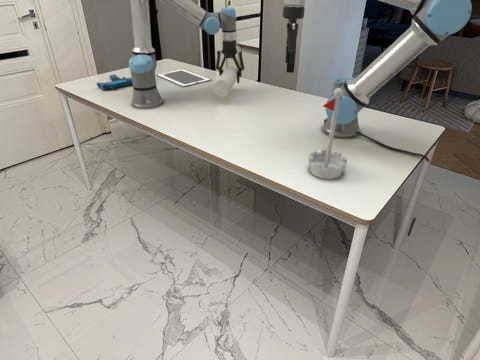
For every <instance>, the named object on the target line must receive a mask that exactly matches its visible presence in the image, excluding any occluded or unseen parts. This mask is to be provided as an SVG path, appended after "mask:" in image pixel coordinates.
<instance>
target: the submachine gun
mask: <svg viewBox="0 0 480 360" xmlns="http://www.w3.org/2000/svg"><path fill="white" fill-rule="evenodd" d="M126 78H127V77H126ZM109 79H111V81H107V82H96V83H95V84H96V87H98V88H99V89H101V90H102V91H103V90H109V89H113V90H116V88H118V87H119V88H120V87H122V86H127V85H133V83H132V77H128V78H127V79H123V78H121V77H119V76H118V75H117V74H110V75H109Z"/></svg>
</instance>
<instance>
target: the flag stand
mask: <svg viewBox="0 0 480 360" xmlns="http://www.w3.org/2000/svg"><path fill="white" fill-rule="evenodd" d="M342 95H343V90H342V89H341V88H336V89H335V90H334V96H335V98H334V99H332V100H331V101H329V102H328V103H327V102H326V103H325V104H323V105H322V107H324V108H325V109H326V108H328V109H330V110H332V111H333V114H332V121H331V127H330V134H328V141H327V147H326V148H321V149H320V151H317V150H315V149H314V150H312V151H311V152H310V155H308V162H307V163H308V165H309V166H310V167H309V169H310V173H311V174H313V176H315V177H318V178H321V179H325V180H332V179H337V178H339V177H341V176H342V174H343V171H344V170H345V169H346V168H347V164H348V158H347V156H346V155H342V152H340V151H338V150H334V151H332V149H333V143H334V132H335V126H336V120H337V113H338V107H339V101H340V97H341V96H342Z"/></svg>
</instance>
